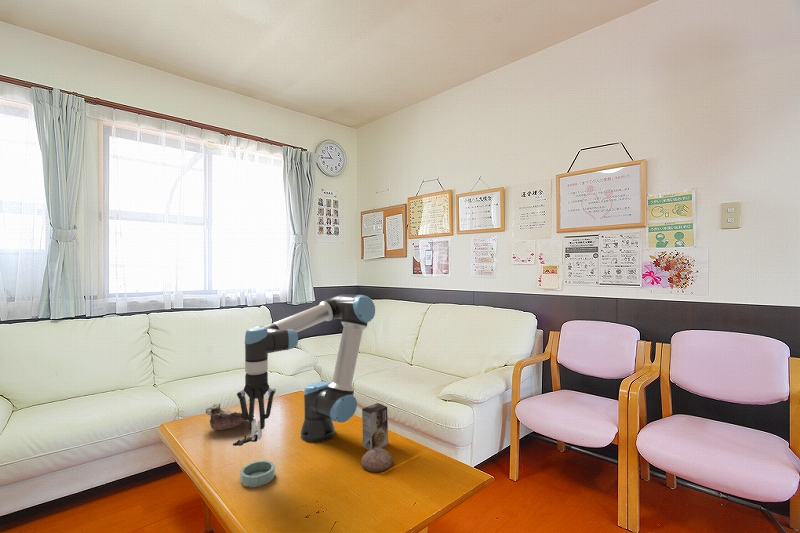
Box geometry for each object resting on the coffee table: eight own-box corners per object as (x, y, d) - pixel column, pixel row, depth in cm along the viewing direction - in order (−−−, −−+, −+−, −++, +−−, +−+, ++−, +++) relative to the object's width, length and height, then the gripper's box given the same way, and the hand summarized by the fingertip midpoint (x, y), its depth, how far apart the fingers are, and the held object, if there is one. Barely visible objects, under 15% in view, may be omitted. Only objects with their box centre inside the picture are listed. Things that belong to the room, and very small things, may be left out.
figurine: (254, 436, 134) (225, 442, 137) (259, 446, 135) (230, 451, 138) (263, 424, 140) (235, 430, 143) (267, 434, 141) (239, 439, 144)
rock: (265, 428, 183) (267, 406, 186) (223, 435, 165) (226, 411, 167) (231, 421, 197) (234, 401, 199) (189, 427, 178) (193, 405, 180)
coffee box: (378, 439, 166) (378, 402, 166) (388, 444, 161) (388, 406, 161) (362, 446, 160) (361, 408, 159) (372, 452, 155) (371, 412, 155)
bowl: (277, 469, 143) (277, 459, 143) (270, 486, 131) (270, 475, 131) (245, 471, 141) (245, 461, 141) (236, 489, 130) (236, 478, 130)
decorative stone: (374, 476, 136) (374, 460, 136) (354, 465, 145) (354, 450, 145) (399, 464, 144) (398, 449, 144) (378, 454, 153) (378, 440, 153)
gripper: (279, 368, 141) (279, 432, 141) (238, 369, 139) (238, 434, 139) (275, 374, 133) (275, 441, 133) (232, 375, 132) (232, 444, 132)
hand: (256, 438), depth 136 cm, fingers closed on figurine
